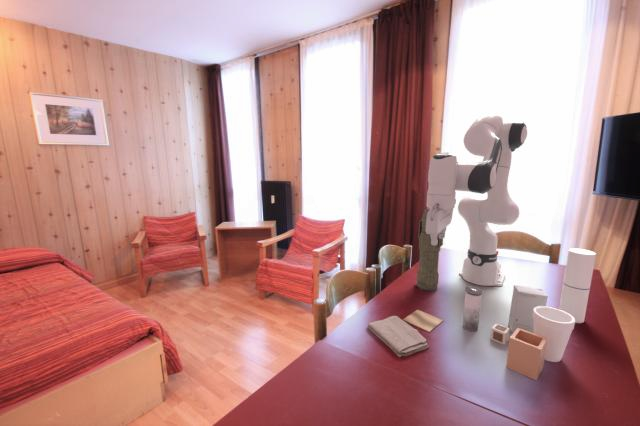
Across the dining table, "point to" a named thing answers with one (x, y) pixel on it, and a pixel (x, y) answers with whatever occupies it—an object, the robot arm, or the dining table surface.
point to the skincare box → (525, 307)
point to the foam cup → (553, 330)
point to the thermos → (427, 258)
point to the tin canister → (472, 308)
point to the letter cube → (500, 333)
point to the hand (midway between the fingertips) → (438, 241)
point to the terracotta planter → (526, 353)
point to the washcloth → (398, 336)
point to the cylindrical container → (577, 282)
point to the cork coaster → (423, 320)
